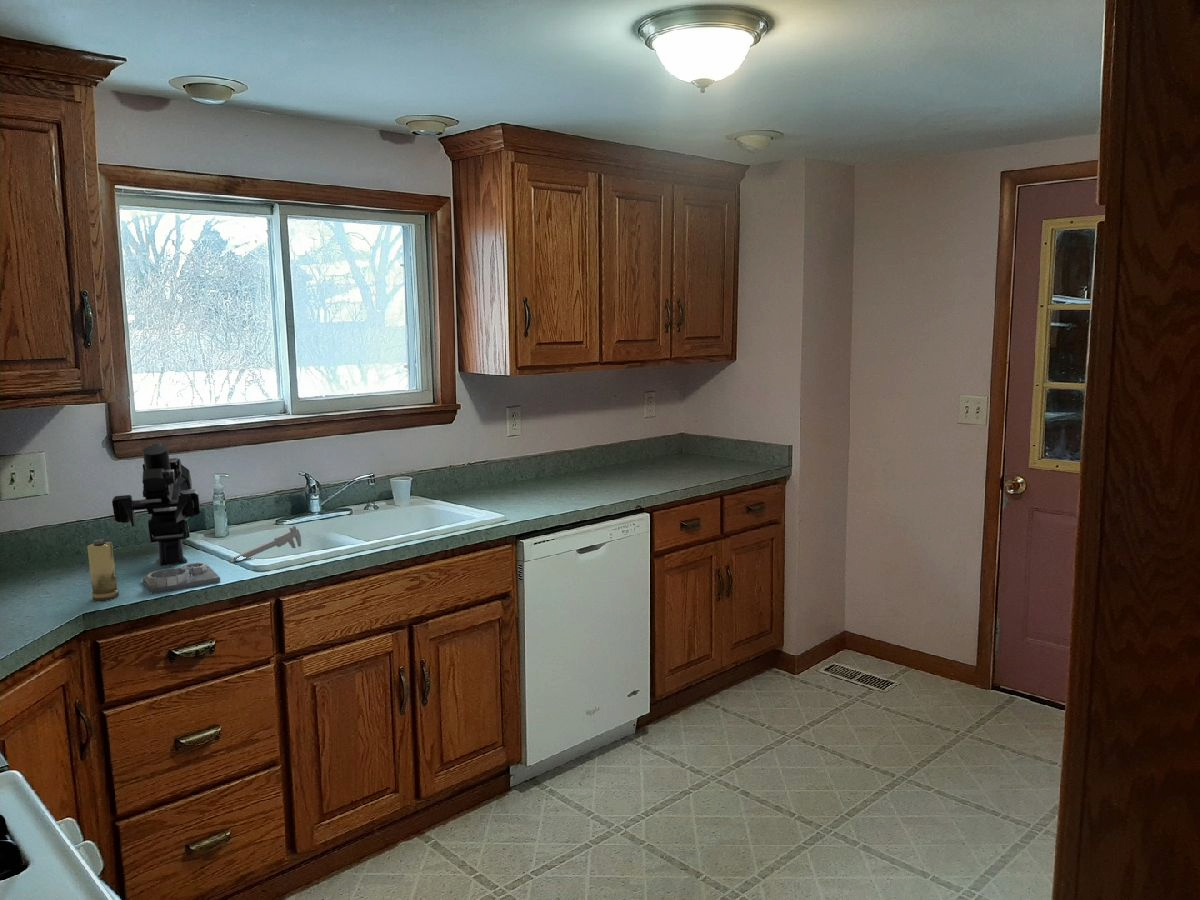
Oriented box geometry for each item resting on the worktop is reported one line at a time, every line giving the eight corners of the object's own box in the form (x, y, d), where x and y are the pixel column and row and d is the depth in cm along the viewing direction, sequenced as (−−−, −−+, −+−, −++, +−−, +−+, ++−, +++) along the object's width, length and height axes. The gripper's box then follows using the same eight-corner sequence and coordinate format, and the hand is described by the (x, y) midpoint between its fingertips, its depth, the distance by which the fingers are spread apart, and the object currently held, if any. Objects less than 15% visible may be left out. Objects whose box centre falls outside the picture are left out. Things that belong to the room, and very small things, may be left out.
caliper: (299, 546, 253) (297, 524, 252) (301, 547, 252) (299, 525, 251) (229, 563, 238) (227, 540, 237) (231, 564, 237) (229, 540, 236)
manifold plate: (143, 581, 222) (141, 568, 222) (208, 570, 230) (207, 558, 230) (151, 594, 211) (150, 580, 211) (220, 582, 220) (219, 569, 219)
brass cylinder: (91, 597, 210) (84, 540, 208) (117, 592, 213) (111, 536, 211) (93, 603, 206) (87, 544, 204) (120, 598, 209) (114, 540, 207)
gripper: (112, 465, 221) (103, 496, 207) (196, 459, 227) (193, 489, 213) (119, 505, 225) (111, 538, 212) (201, 498, 231) (198, 530, 218)
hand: (154, 522), depth 214 cm, fingers open, 9 cm apart
